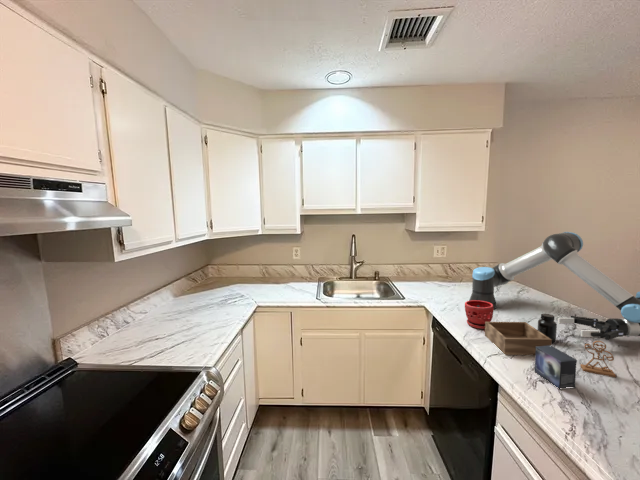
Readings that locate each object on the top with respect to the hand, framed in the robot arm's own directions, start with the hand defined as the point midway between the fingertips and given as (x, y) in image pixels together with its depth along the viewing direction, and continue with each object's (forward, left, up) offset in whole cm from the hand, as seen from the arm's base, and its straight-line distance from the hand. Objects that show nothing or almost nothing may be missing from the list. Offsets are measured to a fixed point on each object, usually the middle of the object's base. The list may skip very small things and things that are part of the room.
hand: (569, 326), depth 129 cm
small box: (+31, -26, -7) cm, 41 cm away
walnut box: (+5, -25, -6) cm, 27 cm away
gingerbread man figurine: (+25, -7, -7) cm, 27 cm away
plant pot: (-16, -32, -7) cm, 37 cm away
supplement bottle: (0, -9, -7) cm, 12 cm away
